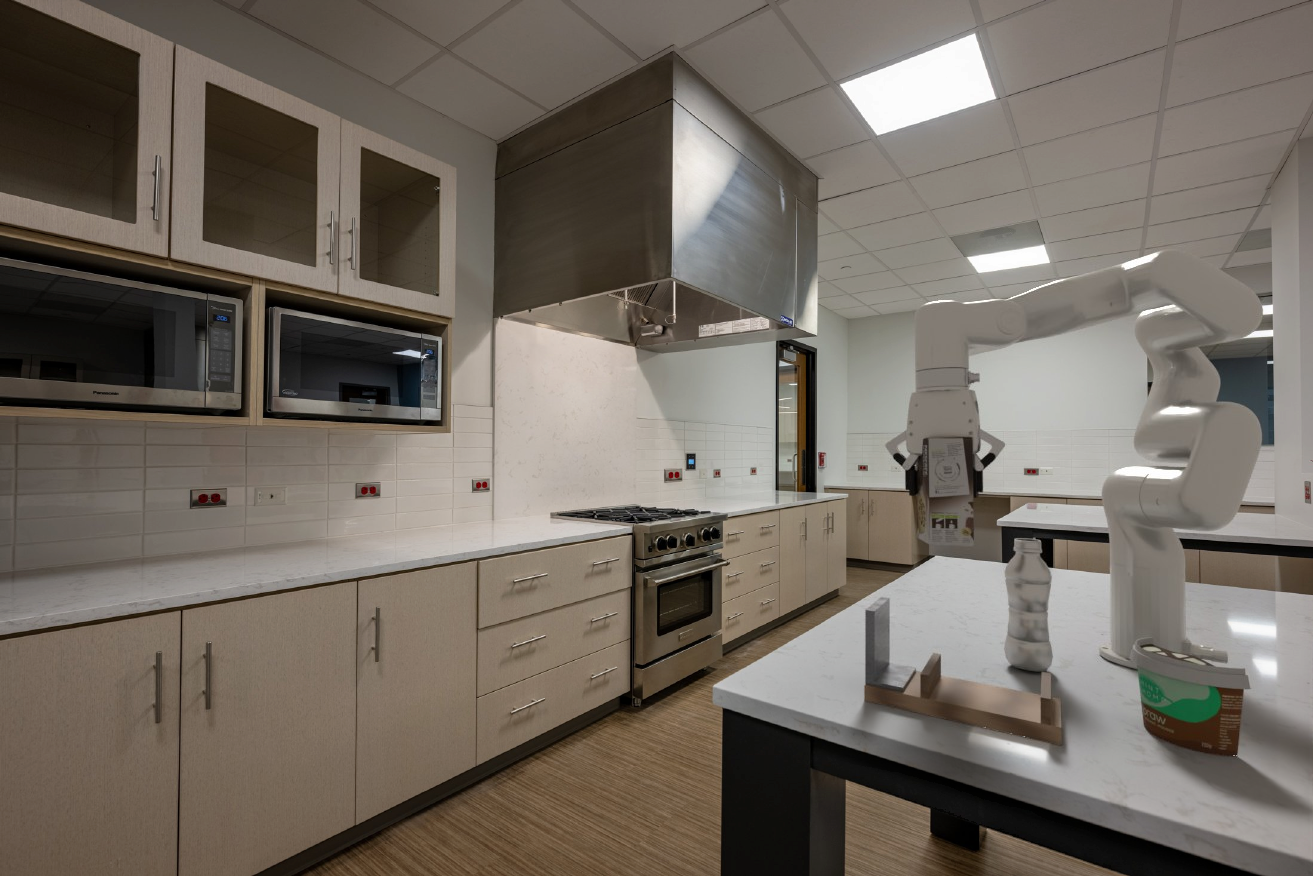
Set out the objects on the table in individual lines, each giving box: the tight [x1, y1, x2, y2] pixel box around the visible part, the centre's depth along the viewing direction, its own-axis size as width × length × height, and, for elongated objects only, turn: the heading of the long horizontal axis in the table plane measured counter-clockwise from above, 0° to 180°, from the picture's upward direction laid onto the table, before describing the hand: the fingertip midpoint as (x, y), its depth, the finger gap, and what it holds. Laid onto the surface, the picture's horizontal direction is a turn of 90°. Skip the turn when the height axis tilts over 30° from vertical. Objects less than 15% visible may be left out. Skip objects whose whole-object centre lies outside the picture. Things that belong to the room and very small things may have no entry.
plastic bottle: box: [1003, 537, 1054, 672], centre depth 94 cm, size 6×7×20 cm
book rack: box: [863, 652, 1063, 746], centre depth 79 cm, size 22×10×5 cm, turn 57°
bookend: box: [864, 596, 917, 692], centre depth 84 cm, size 5×9×10 cm, turn 147°
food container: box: [1130, 637, 1251, 757], centre depth 72 cm, size 12×6×10 cm, turn 5°
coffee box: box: [915, 437, 975, 548], centre depth 93 cm, size 9×6×16 cm
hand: (943, 495), depth 93 cm, fingers closed on coffee box, 8 cm apart
